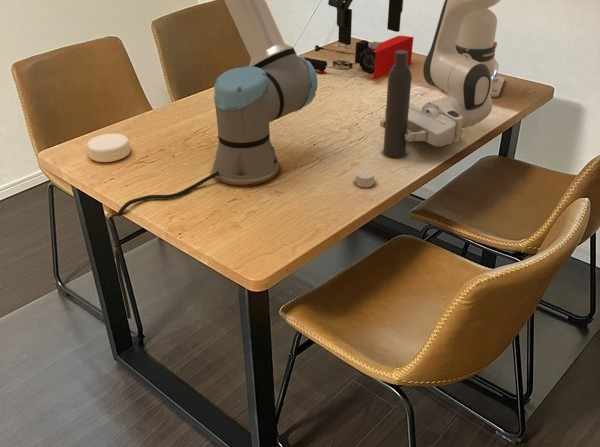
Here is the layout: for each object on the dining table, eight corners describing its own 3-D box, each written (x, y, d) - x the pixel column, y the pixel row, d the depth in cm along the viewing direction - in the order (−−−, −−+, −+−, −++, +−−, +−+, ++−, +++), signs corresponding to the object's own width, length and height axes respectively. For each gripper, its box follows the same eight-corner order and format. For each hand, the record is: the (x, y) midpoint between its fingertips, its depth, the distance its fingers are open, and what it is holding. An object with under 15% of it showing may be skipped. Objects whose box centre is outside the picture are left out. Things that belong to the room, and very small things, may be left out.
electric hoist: (295, 37, 203) (374, 52, 188) (338, 23, 222) (414, 35, 207) (294, 67, 208) (372, 84, 193) (337, 51, 227) (411, 65, 212)
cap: (374, 179, 142) (374, 170, 140) (373, 188, 138) (374, 179, 137) (356, 178, 142) (356, 169, 141) (355, 187, 139) (355, 178, 137)
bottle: (408, 155, 152) (417, 54, 138) (388, 159, 150) (396, 56, 137) (399, 147, 156) (407, 47, 142) (379, 150, 154) (385, 49, 141)
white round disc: (100, 166, 148) (97, 153, 146) (82, 153, 155) (79, 140, 153) (137, 154, 154) (135, 141, 152) (119, 141, 160) (116, 129, 158)
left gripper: (338, -74, 102) (335, 53, 114) (437, -87, 116) (425, 29, 127) (309, -78, 107) (309, 44, 119) (407, -90, 120) (398, 21, 132)
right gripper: (411, 93, 161) (368, 104, 155) (467, 119, 147) (422, 133, 141) (409, 116, 165) (367, 128, 159) (464, 144, 150) (420, 158, 144)
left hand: (369, 36), depth 123 cm, fingers open, 13 cm apart
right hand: (393, 130), depth 149 cm, fingers open, 8 cm apart
